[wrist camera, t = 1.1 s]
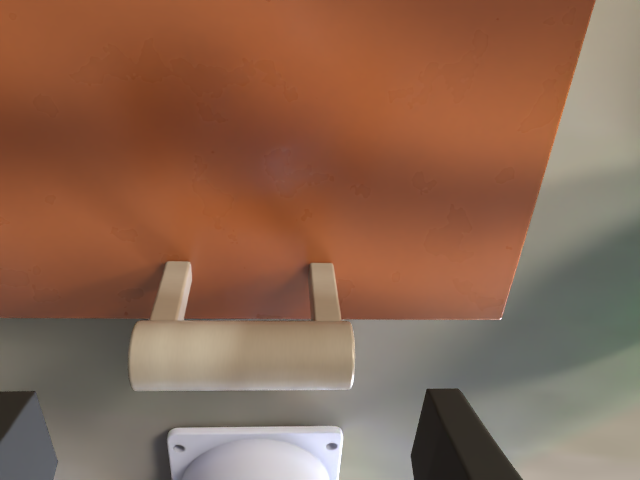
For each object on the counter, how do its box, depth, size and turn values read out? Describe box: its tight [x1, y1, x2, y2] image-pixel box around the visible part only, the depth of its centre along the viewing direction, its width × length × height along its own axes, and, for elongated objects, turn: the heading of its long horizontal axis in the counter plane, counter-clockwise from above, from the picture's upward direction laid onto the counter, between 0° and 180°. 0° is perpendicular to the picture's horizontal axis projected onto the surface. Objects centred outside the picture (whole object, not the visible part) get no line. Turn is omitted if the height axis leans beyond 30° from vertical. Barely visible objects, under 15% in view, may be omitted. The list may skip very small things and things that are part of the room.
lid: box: [0, 0, 595, 391], centre depth 13 cm, size 10×16×5 cm
